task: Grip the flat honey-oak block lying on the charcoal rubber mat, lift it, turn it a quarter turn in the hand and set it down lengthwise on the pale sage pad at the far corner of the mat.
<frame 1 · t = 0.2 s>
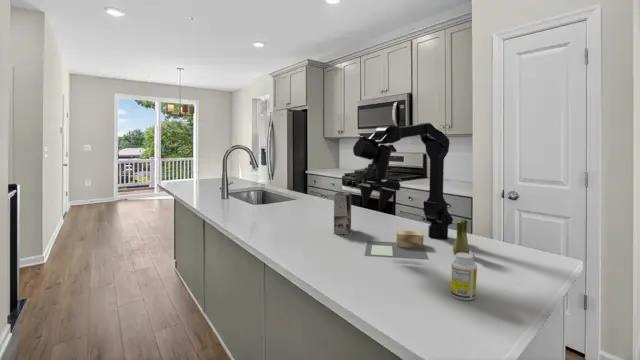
hand: (371, 207, 119), 15 cm above the countertop, tool pointing down, fingers open, 9 cm apart
coffee box: (342, 231, 148), on the countertop
fennel bulb: (460, 256, 116), on the countertop
oak block: (409, 245, 125), point 1 cm above the countertop, touching mat
supplement bottle: (462, 297, 85), on the countertop
mat: (395, 251, 121), on the countertop
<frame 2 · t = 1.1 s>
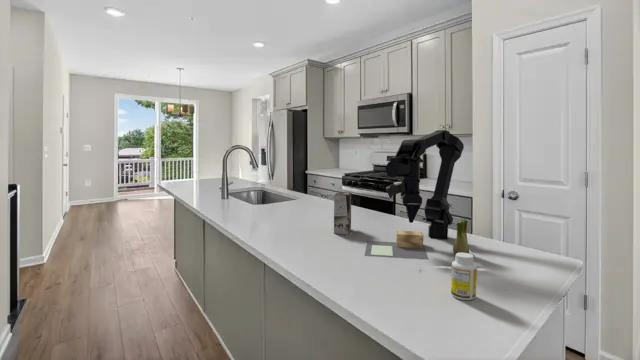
hand: (410, 219, 125), 10 cm above the countertop, tool pointing down, fingers open, 9 cm apart
nothing on the countertop moved.
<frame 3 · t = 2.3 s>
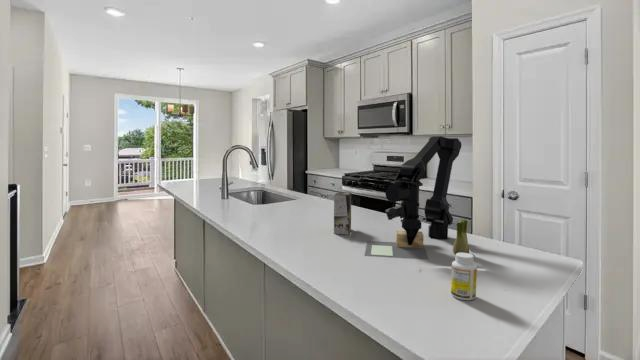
hand: (409, 242, 125), 2 cm above the countertop, tool pointing down, fingers closed on oak block, 5 cm apart
oak block: (409, 245, 125), point 1 cm above the countertop, touching gripper, mat
everything else where it was.
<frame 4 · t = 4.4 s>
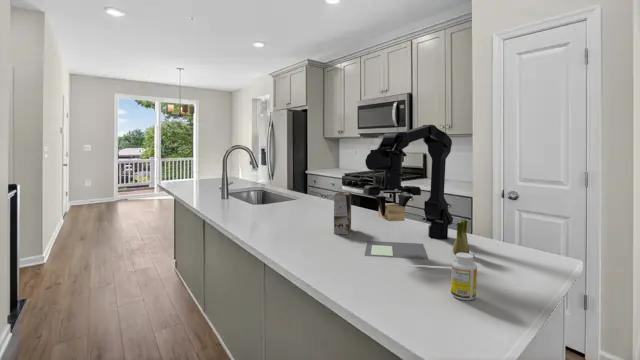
hand: (391, 215, 120), 12 cm above the countertop, tool pointing down, fingers closed on oak block, 5 cm apart
oak block: (391, 218, 120), point 11 cm above the countertop, touching gripper
everything else where it was.
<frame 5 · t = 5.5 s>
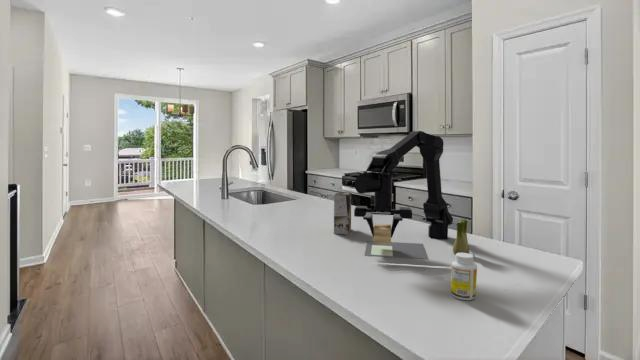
hand: (382, 237, 118), 5 cm above the countertop, tool pointing down, fingers closed on oak block, 5 cm apart
oak block: (382, 239, 119), point 4 cm above the countertop, touching gripper
everything else where it was.
when the fingers open (3 cm above the countertop, at t = 6.3 s): oak block drops 1 cm, resting on mat.
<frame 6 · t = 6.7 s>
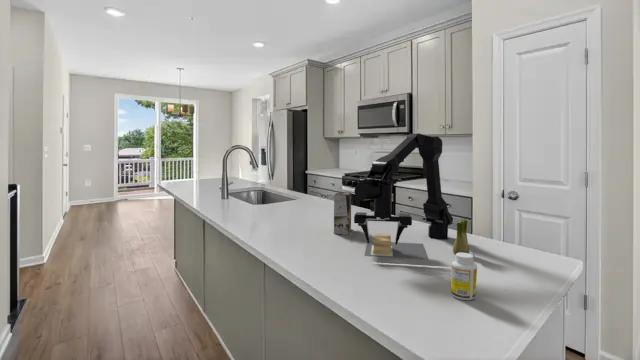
hand: (382, 243, 119), 3 cm above the countertop, tool pointing down, fingers open, 9 cm apart
oak block: (382, 250, 119), point 1 cm above the countertop, touching mat
everything else where it was.
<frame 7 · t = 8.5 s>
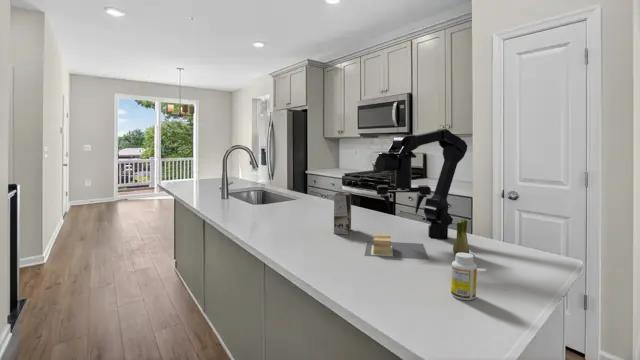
hand: (403, 213, 128), 11 cm above the countertop, tool pointing down, fingers open, 9 cm apart
nothing on the countertop moved.
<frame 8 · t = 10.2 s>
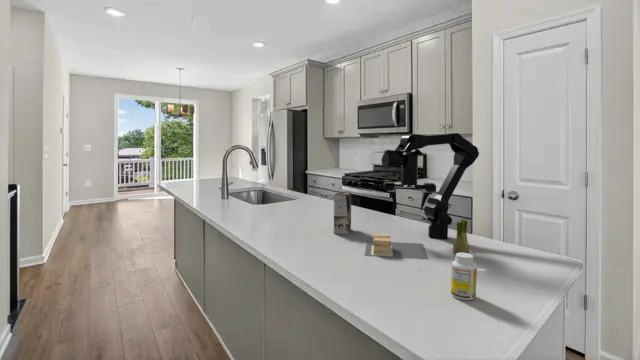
hand: (408, 209, 132), 12 cm above the countertop, tool pointing down, fingers open, 9 cm apart
nothing on the countertop moved.
at the end: oak block 0.1 cm from the target spot on the mat, point 0.8 cm above the mat's base; oak block tilted 0°; the gripper is holding nothing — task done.
